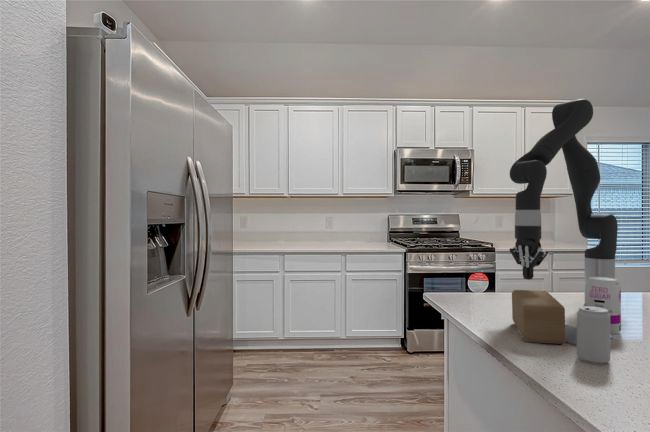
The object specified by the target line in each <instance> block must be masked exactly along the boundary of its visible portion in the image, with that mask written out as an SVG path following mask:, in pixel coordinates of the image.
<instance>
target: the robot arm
mask: <svg viewBox="0 0 650 432" xmlns="http://www.w3.org/2000/svg"><path fill="white" fill-rule="evenodd" d="M551 111H552V112H551V119H552V123H553V129H552V130H550V131H548V132H546V133H545V134H544V135H543V136H541V138H540V139H539V140H537V142H536V143H535V144H534V145H533V147H532V148H531V149H530V151H528V152H526V153H525V154H523V155H522V156H521V157H520V158H518V159H516V161H515V162H514V163H513V164H512V165H511V167H510V169H509V178H510V180H511V181H512V182H513V183H514V184H518V185H522V184H527V186H526V188H525V189H524V190H521V191H519V192H517V193H516V194H515V213H514V238H515V239H516V241H515V246H513V247H510V248H509V252H510V254H511V256H512V257H513V259H514V261H515V262H516V265H519V266H521V267H522V278H523V279H524V280H533V278H534V268H535V267H539V266H540V265H541V263H542V262H543V261H544V260H545V258H546V257H547V256H548V254H549V252H548V250H544V249H543V248H542V244H541V239H542V213H541V196H542V193H543V189H544V185H545V183H546V178H547V174H548V171H547V167H546V166H548V165H549V164H550V163H551V162H553V161H552V160H554V158H555V157H556V156H557V154H558V153H559V152H560V150H561V151H562V153H563V157H564V161H565V165H566V169H567V175H568V178H569V182H570V186H571V190H572V194H573V198H574V202H575V211H576V216H577V225H578V230H579V232H580V235H582V237H583V238H585V239H591V240H599V243H598V245H596V246H594V247H590V248H586V249H585V250H584V265H583V266H584V296H583V297H584V305H586V282H587V280H588V279H589V277H608V278H615V279H616V252H617V246H618V245H617V243H618V242H617V241H618V228H619V226H618V220H617V218H616V216H615V215H614V214H611V213H594V212H593V210H592V200H593V196H594V194H595V193H596V191H597V189H598V187H599V185H600V182H601V174H600V169H599V165H598V161H597V159H596V158H595V156H594V155H593V154H592V153H591V152H590V151H589V150H588V149H587V148H586V147H585V146H583V145H582V144H581V142H580V141H579V140H578V138H577V136H576V135H577V134H578V133H579V132H581V130H583V129H584V128H585V127H586V126H587V125H589V124H590V122H591V121H592V119H593V116H594V107H593V105H592V103H591V101H590V100H588V99H586V98H579V99H574V100H570V101H566V102H561V103H558V104H556V105H555V106H553V109H552V110H551Z"/></svg>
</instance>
